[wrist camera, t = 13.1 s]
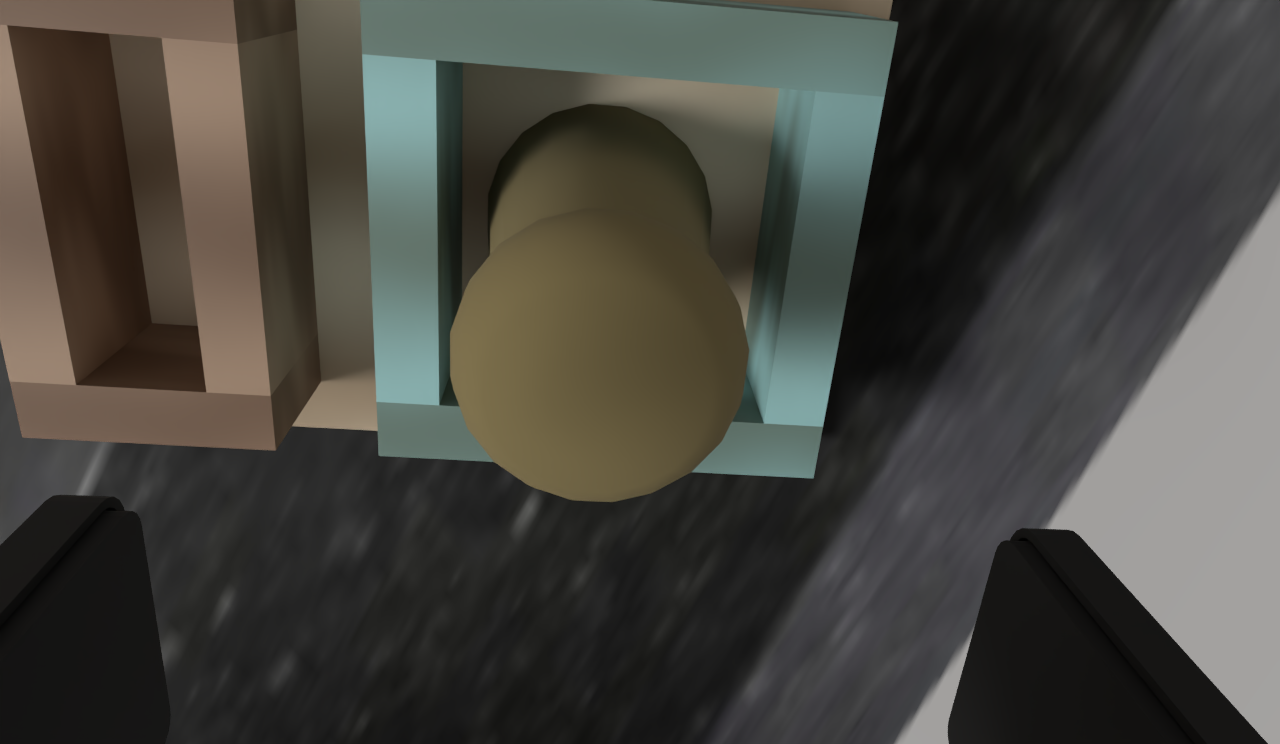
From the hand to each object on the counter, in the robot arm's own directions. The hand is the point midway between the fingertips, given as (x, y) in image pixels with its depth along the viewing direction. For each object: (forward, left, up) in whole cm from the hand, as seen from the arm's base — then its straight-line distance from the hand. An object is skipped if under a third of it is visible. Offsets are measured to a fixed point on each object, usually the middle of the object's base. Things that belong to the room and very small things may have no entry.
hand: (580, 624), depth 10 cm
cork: (0, 0, -16) cm, 16 cm away
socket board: (0, +4, -17) cm, 17 cm away
